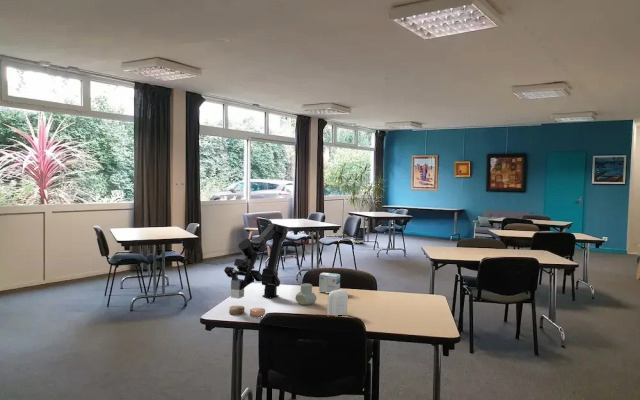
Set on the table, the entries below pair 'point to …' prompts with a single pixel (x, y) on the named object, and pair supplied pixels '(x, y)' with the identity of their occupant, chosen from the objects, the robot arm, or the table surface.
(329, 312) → the photo printer
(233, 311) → the stand
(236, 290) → the plate
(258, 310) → the stand
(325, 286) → the light bulb box
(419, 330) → the table surface
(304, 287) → the grey plastic tee piece
